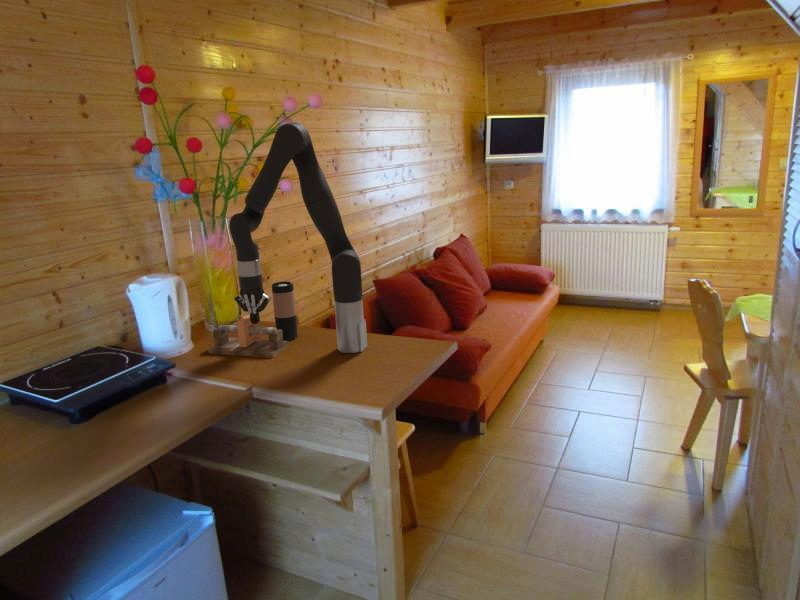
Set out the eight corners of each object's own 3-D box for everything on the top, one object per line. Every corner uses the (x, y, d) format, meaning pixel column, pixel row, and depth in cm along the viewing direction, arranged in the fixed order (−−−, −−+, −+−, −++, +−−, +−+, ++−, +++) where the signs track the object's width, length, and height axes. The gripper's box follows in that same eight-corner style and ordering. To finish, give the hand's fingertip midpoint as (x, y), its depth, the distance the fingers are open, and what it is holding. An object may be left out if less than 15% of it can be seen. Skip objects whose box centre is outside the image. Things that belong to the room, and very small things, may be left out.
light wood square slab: (259, 338, 196) (256, 313, 194) (246, 347, 188) (243, 321, 185) (253, 337, 197) (250, 313, 194) (239, 346, 188) (236, 321, 186)
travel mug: (273, 341, 200) (267, 286, 194) (281, 334, 207) (276, 281, 202) (294, 341, 199) (288, 286, 193) (301, 334, 206) (296, 281, 200)
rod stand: (289, 345, 195) (287, 322, 193) (273, 357, 184) (270, 333, 182) (228, 341, 202) (225, 319, 199) (208, 353, 190) (205, 330, 188)
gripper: (273, 271, 186) (278, 321, 191) (237, 270, 190) (243, 319, 195) (262, 276, 179) (267, 327, 184) (225, 275, 183) (231, 326, 188)
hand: (255, 323), depth 189 cm, fingers closed
